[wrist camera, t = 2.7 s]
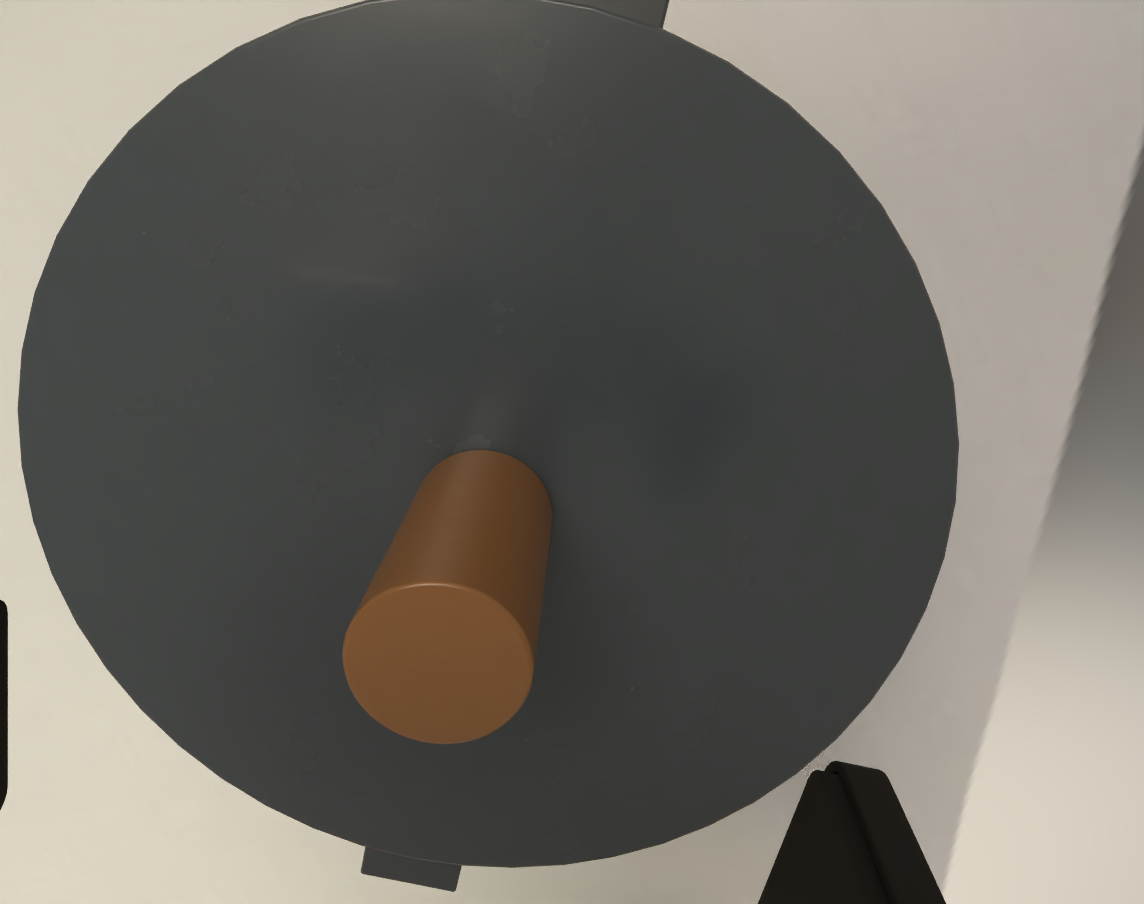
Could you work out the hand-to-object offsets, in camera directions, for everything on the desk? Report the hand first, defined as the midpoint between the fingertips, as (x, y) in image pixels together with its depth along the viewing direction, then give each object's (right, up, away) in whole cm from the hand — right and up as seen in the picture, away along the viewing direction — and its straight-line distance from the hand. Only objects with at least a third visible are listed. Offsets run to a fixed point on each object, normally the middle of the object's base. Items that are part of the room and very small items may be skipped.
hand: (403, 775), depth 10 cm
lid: (0, +3, +7) cm, 7 cm away
